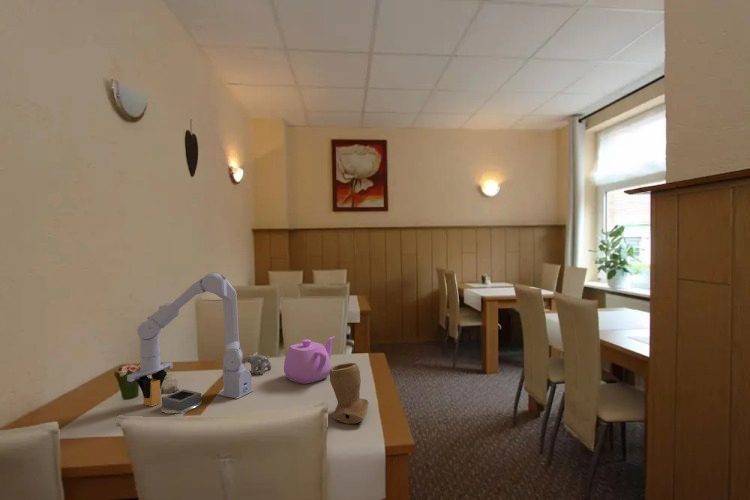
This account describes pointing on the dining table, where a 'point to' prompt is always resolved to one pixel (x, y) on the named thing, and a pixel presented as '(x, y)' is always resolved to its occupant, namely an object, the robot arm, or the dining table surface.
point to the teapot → (308, 361)
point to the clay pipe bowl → (348, 393)
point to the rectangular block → (153, 393)
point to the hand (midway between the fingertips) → (152, 395)
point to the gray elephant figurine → (258, 362)
